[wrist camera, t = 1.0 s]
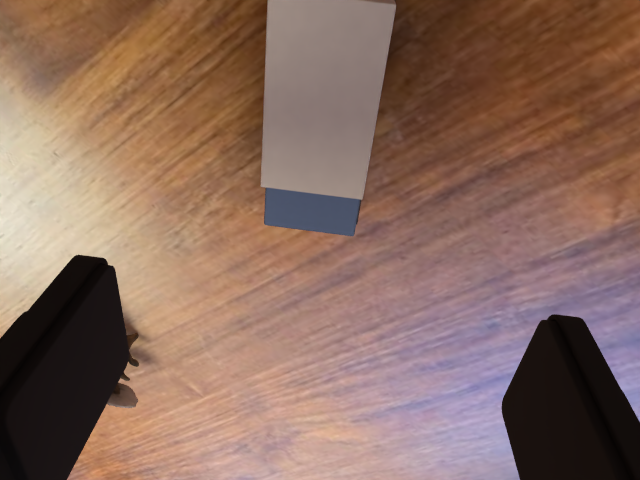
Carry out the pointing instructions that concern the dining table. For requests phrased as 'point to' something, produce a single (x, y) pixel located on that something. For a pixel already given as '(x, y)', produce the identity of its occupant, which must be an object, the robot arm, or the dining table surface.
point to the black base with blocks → (321, 109)
